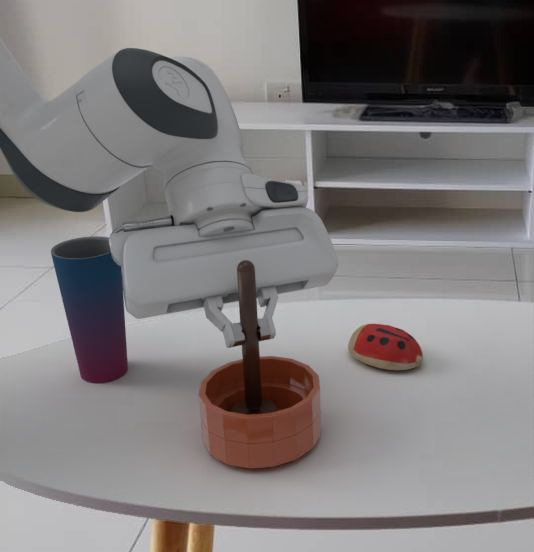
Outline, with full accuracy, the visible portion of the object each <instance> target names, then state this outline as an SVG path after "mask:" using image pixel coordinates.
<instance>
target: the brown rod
mask: <svg viewBox="0 0 534 552" xmlns="http://www.w3.org/2000/svg"><path fill="white" fill-rule="evenodd" d="M237 280H238V296H239V301H238V309H239V311H238V312H239V322H241V325H242V328H243V329H242V332H243V333H244V336H245V342H244V343H243V345H241V356H242V358H241V359H243V374H244V390H245V400H244V401H241V402H239V403H237V404H236V405H235V406H234V407H233V408H232V411H231V412H234V413H240V414H246V415H250V414H265V413H273V412H276V411H277V407H276V405H275V404H274V403H273V402H272V401H270V400H267V399H262V390H261V372H260V357H261V356H260V341H259V334H258V319H259V317H258V298H257V297H256V278H255V266H254V264H253V263H252V262H251V261H248V260H244V261H241V262H240V263H239V264H238V266H237Z"/></svg>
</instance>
